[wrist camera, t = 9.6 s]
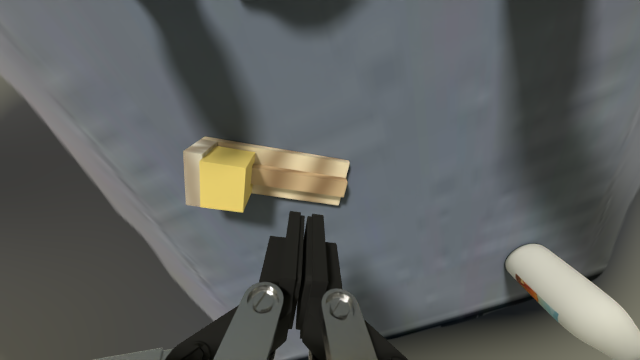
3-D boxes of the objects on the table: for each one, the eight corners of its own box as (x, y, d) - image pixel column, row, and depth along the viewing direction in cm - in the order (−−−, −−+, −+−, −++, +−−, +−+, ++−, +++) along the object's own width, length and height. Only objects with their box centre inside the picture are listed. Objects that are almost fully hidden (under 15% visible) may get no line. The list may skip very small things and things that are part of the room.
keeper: (255, 152, 31) (245, 167, 27) (252, 191, 34) (242, 212, 29) (216, 145, 31) (199, 160, 26) (216, 186, 33) (200, 207, 28)
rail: (348, 160, 34) (356, 178, 29) (337, 201, 37) (343, 225, 32) (204, 136, 32) (183, 151, 26) (205, 182, 35) (186, 204, 29)
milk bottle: (501, 250, 44) (639, 379, 26) (545, 236, 43) (719, 359, 25) (504, 277, 47) (628, 409, 29) (545, 264, 46) (699, 392, 28)
